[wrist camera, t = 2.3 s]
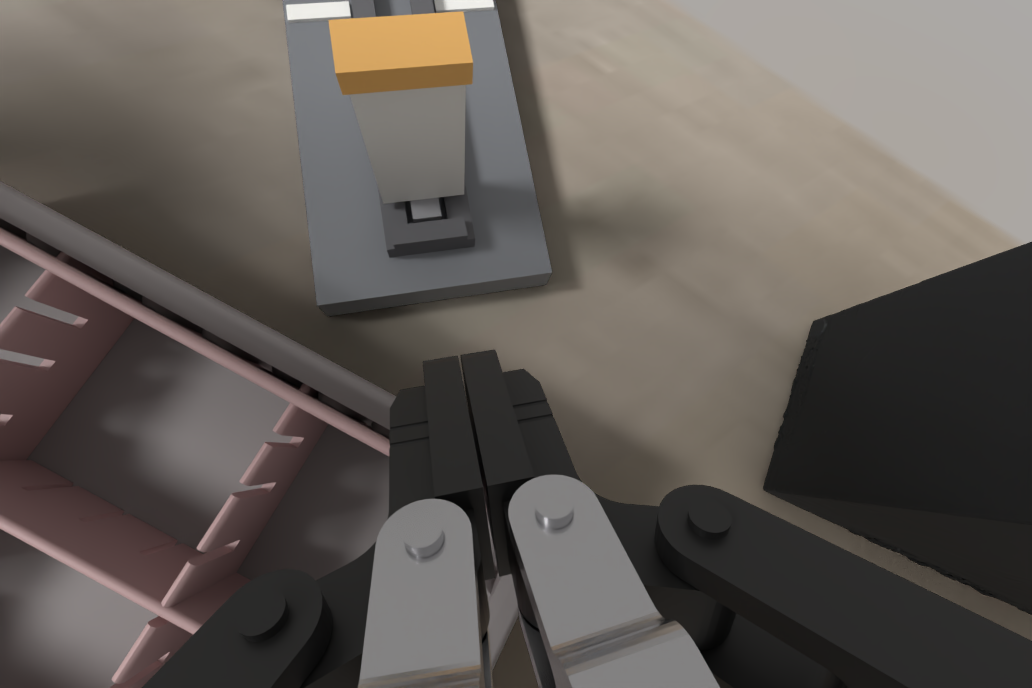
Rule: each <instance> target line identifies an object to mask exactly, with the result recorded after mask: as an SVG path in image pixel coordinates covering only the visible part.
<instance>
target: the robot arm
mask: <svg viewBox="0 0 1032 688" xmlns="http://www.w3.org/2000/svg"><path fill="white" fill-rule="evenodd" d="M461 363H462V370H463V377H464V384H465V391H466V396H465V391H464V386H463V381H462V375H461V370H460V365H459V360H458V356H452V357H446V358H440V359H434V360H428V361H423V371H424V382H425V386H420V387H414V388H408V389H402V390H400V392H399V393H398V395H397V397H396V398H395V400H394V402H393V404H392V405H391V407H390V440H389V444H390V448H389V514H388V519H387V521H386V522H385V523H384V525H383V527H382V528H381V530H380V532H379V534H378V537H377V541H376V542H375V543H374V544H373V545H372V546H371V547H370V548H369V549H368V550H367V551H366V552H365V553H364V554H362V555H361V556H360V557H358V558H357V559H355V560H354V561H352V562H350V563H348V564H347V565H345V566H343V567H341V568H339V569H337V570H335V571H333V572H331V573H329V574H327V575H325V576H323V577H321V578H319V579H318V580H316V581H315V580H314V578H313V577H311V576H310V575H309V574H307V573H305V572H302V571H300V570H294V569H282V570H276V571H272V572H269V573H266V574H263V575H261V576H259V577H257V578H255V579H253V580H251V581H250V582H248V583H246V584H245V585H244V586H242V587H241V588H240V589H238V590H237V591H236V592H235V593H234V594H233V595H232V596H231V597H229V598H228V600H227V601H226V602H225V603H224V604H223V605H222V606H221V607H220V608H219V609H218V610H217V611H216V612H215V613H214V614H213V615H212V616H211V617H210V618H209V619H208V620H207V621H206V622H205V623H204V624H203V625H202V626H201V627H200V628H199V629H198V630H197V631H196V632H195V633H194V634H193V635H192V636H191V637H190V639H189V640H188V641H187V642H186V643H185V644H184V645H183V646H182V647H181V648H180V649H179V650H178V651H177V652H176V653H175V654H174V655H173V656H172V657H171V658H170V659H169V660H168V661H167V662H166V663H165V664H164V665H163V666H162V667H161V668H160V669H159V670H158V671H157V672H156V673H155V674H154V675H153V676H152V677H151V679H150V680H149V681H148V682H147V683H146V684H145V685H144V686H143V687H142V688H493V677H492V665H491V652H490V640H489V629H488V625H489V619H490V610H489V603H488V597H487V590H486V584H485V580H489V579H493V578H496V577H495V570H494V563H493V556H492V548H491V541H490V534H489V527H488V520H489V525H490V531H491V536H492V541H493V546H494V552H495V557H496V562H497V567H498V573H499V577H501V576H505V575H510V574H512V579H513V583H514V588H515V593H516V597H517V605H518V615H519V620H520V624H521V628H522V631H523V635H524V638H525V642H526V645H527V648H528V652H529V655H530V659H531V662H532V666H533V669H534V673H535V676H536V679H537V683H538V686H539V688H1032V641H1031V640H1029V639H1027V638H1025V637H1023V636H1021V635H1019V634H1017V633H1014V632H1012V631H1010V630H1008V629H1006V628H1004V627H1002V626H1000V625H998V624H996V623H994V622H992V621H990V620H988V619H986V618H984V617H982V616H980V615H978V614H975V613H973V612H971V611H969V610H967V609H965V608H963V607H961V606H959V605H957V604H955V603H953V602H951V601H949V600H947V599H945V598H943V597H941V596H939V595H937V594H934V593H932V592H930V591H928V590H926V589H924V588H922V587H920V586H918V585H916V584H914V583H912V582H910V581H908V580H906V579H904V578H902V577H900V576H898V575H895V574H893V573H891V572H889V571H887V570H885V569H883V568H881V567H879V566H877V565H875V564H873V563H871V562H869V561H867V560H865V559H863V558H861V557H859V556H857V555H854V554H852V553H850V552H848V551H846V550H844V549H842V548H840V547H838V546H836V545H834V544H832V543H830V542H828V541H826V540H824V539H822V538H820V537H818V536H815V535H813V534H811V533H809V532H807V531H805V530H803V529H801V528H799V527H797V526H795V525H793V524H791V523H789V522H787V521H785V520H783V519H781V518H779V517H777V516H774V515H772V514H770V513H768V512H766V511H764V510H762V509H760V508H758V507H756V506H754V505H752V504H750V503H748V502H746V501H744V500H742V499H740V498H738V497H735V496H733V495H731V494H729V493H727V492H725V491H723V490H720V489H717V488H714V487H710V486H704V485H688V486H683V487H679V488H677V489H675V490H673V491H671V492H670V493H669V494H667V495H666V496H665V498H664V499H663V500H662V502H661V504H660V506H646V505H634V504H624V503H618V502H614V501H610V500H608V499H605V498H603V497H601V496H599V495H597V494H595V493H594V492H593V491H592V490H591V489H590V488H589V487H588V486H586V485H585V484H584V483H582V481H581V480H580V479H579V477H578V475H577V473H576V471H575V469H574V466H573V464H572V461H571V459H570V456H569V454H568V451H567V449H566V446H565V444H564V441H563V439H562V436H561V434H560V431H559V429H558V427H557V424H556V422H555V419H554V418H553V415H552V412H551V409H550V407H549V404H548V403H547V399H546V397H545V394H544V392H543V389H542V387H541V385H540V382H539V381H538V380H536V379H535V378H534V377H533V376H532V375H530V374H529V373H528V372H527V371H526V370H524V369H520V370H514V371H508V372H502V370H501V367H500V363H499V360H498V357H497V354H496V351H495V350H489V351H482V352H476V353H470V354H464V355H461ZM466 398H467V401H466ZM467 405H468V407H467ZM485 504H486V505H485ZM486 510H487V512H486ZM487 515H488V520H487Z"/></svg>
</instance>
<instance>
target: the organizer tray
mask: <svg viewBox="0 0 1032 688" xmlns="http://www.w3.org/2000/svg"><path fill="white" fill-rule="evenodd" d="M396 397H397V396H395V395H393V394H391V393H389V392H388V391H386V390H384V389H382V388H380V387H378V386H376V385H375V384H373V383H371V382H369V381H367V380H365V379H364V378H362V377H360V376H358V375H356V374H354V373H353V372H351V371H349V370H347V369H345V368H343V367H342V366H340V365H338V364H336V363H334V362H332V361H330V360H329V359H327V358H325V357H323V356H321V355H319V354H318V353H316V352H314V351H312V350H310V349H308V348H307V347H305V346H303V345H301V344H299V343H297V342H296V341H294V340H292V339H290V338H288V337H286V336H285V335H283V334H281V333H279V332H277V331H275V330H273V329H272V328H270V327H268V326H266V325H264V324H262V323H261V322H259V321H257V320H255V319H253V318H251V317H250V316H248V315H246V314H244V313H242V312H240V311H239V310H237V309H235V308H233V307H231V306H229V305H228V304H226V303H224V302H222V301H220V300H218V299H216V298H215V297H213V296H211V295H209V294H207V293H205V292H204V291H202V290H200V289H198V288H196V287H194V286H193V285H191V284H189V283H187V282H185V281H183V280H182V279H180V278H178V277H176V276H174V275H172V274H171V273H169V272H167V271H165V270H163V269H161V268H159V267H158V266H156V265H154V264H152V263H150V262H148V261H147V260H145V259H143V258H141V257H139V256H137V255H136V254H134V253H132V252H130V251H128V250H126V249H125V248H123V247H121V246H119V245H117V244H115V243H114V242H112V241H110V240H108V239H106V238H104V237H102V236H101V235H99V234H97V233H95V232H93V231H91V230H90V229H88V228H86V227H84V226H82V225H80V224H79V223H77V222H75V221H73V220H71V219H69V218H68V217H66V216H64V215H62V214H60V213H58V212H56V211H55V210H53V209H51V208H49V207H47V206H45V205H44V204H42V203H40V202H38V201H36V200H34V199H33V198H31V197H29V196H27V195H25V194H23V193H22V192H20V191H18V190H16V189H14V188H12V187H11V186H9V185H7V184H5V183H3V182H1V181H0V688H142V687H143V686H144V685H145V684H146V683H147V682H148V681H149V680H150V679H151V677H152V676H153V675H154V674H155V673H156V672H157V671H158V670H159V669H160V668H161V667H162V666H163V665H164V664H165V663H166V662H167V661H168V660H169V659H170V658H171V657H172V656H173V655H174V654H175V653H176V652H177V651H178V650H179V649H180V648H181V647H182V646H183V645H184V644H185V643H186V642H187V641H188V640H189V639H190V637H191V636H192V635H193V634H194V633H195V632H196V631H197V630H198V629H199V628H200V627H201V626H202V625H203V624H204V623H205V622H206V621H207V620H208V619H209V618H210V617H211V616H212V615H213V614H214V613H215V612H216V611H217V610H218V609H219V608H220V607H221V606H222V605H223V604H224V603H225V602H226V601H227V600H228V598H229V597H231V596H232V595H233V594H234V593H235V592H236V591H237V590H238V589H240V588H241V587H242V586H244V585H245V584H246V583H248V582H250V581H251V580H253V579H255V578H257V577H259V576H261V575H263V574H266V573H269V572H272V571H276V570H282V569H294V570H300V571H302V572H305V573H307V574H309V575H310V576H311V577H313V578H314V580H315V581H316V580H318V579H319V578H321V577H323V576H325V575H327V574H329V573H331V572H333V571H335V570H337V569H339V568H341V567H343V566H345V565H347V564H348V563H350V562H352V561H354V560H355V559H357V558H358V557H360V556H361V555H362V554H364V553H365V552H366V551H367V550H368V549H369V548H370V547H371V546H372V545H373V544H374V543H375V542H376V541H377V537H378V534H379V532H380V530H381V528H382V527H383V525H384V523H385V522H386V521H387V519H388V514H389V448H390V444H389V440H390V407H391V405H392V404H393V402H394V400H395V398H396ZM485 505H486V504H485ZM486 512H487V510H486ZM487 520H488V515H487ZM488 527H489V534H490V541H491V548H492V556H493V563H494V570H495V577H496V578H493V579H489V580H485V584H486V590H487V597H488V603H489V610H490V619H489V625H488V629H489V640H490V652H491V665H492V671H493V668H494V666H495V664H496V662H497V660H498V658H499V656H500V654H501V651H502V649H503V647H504V645H505V643H506V641H507V639H508V637H509V635H510V632H511V630H512V628H513V626H514V624H515V622H516V620H517V618H518V605H517V597H516V593H515V588H514V583H513V579H512V574H510V575H505V576H501V577H499V573H498V567H497V562H496V557H495V552H494V546H493V541H492V536H491V531H490V525H489V520H488Z"/></svg>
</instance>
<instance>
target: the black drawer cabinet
mask: <svg viewBox="0 0 1032 688" xmlns="http://www.w3.org/2000/svg"><path fill="white" fill-rule="evenodd" d="M806 342H807V343H806V347H805V349H804V352H803V356H801V358H802V359H801V363H800V364H799V368H798V369H797V374H796V377H795V379H794V382H793V386H792V390H791V395H790V399H789V403H788V406H787V409H786V411H785V413H784V415H783V417H784V420H783V424H782V425H781V427H780V430H779V432H778V433H779V435H778V438H777V440H776V442H775V445H774V453H773V456H772V459H771V462H770V466H769V469H768V473H767V476H766V479H765V483H764V486H763V489H764V490H765V491H766V492H768V493H770V494H772V495H774V496H776V497H778V498H781V499H783V500H785V501H787V502H789V503H791V504H794V505H796V506H798V507H800V508H802V509H804V510H806V511H809V512H811V513H813V514H815V515H817V516H819V517H822V518H824V519H826V520H828V521H831V522H833V523H835V524H837V525H840V526H842V527H844V528H846V529H849V531H850V532H852V533H853V534H857V535H859V536H863V537H865V538H866V539H867V540H869V541H871V542H873V543H876V544H878V545H880V546H881V547H885V548H887V549H891V550H892V551H894V552H898V553H900V554H902V555H904V556H906V557H907V558H908V559H910V560H912V561H914V562H916V563H918V564H919V565H923V566H926V567H931V568H933V569H934V570H936V571H938V572H939V573H940V574H942V575H944V576H946V577H949V578H951V579H953V580H957V581H959V582H960V583H962V584H965V585H969V586H971V587H973V588H974V589H975V590H977V591H979V592H980V593H982V594H984V595H987V596H991V597H994V598H997V599H999V600H1002V601H1004V602H1007V603H1009V604H1011V605H1013V606H1015V607H1017V608H1018V609H1019V610H1022V611H1025V612H1027V613H1029V614H1032V242H1030V243H1027V244H1024V245H1022V246H1019V247H1016V248H1013V249H1010V250H1008V251H1005V252H1002V253H999V254H996V255H994V256H991V257H988V258H985V259H983V260H980V261H977V262H974V263H971V264H969V265H966V266H963V267H960V268H958V269H955V270H952V271H949V272H947V273H944V274H941V275H938V276H936V277H933V278H930V279H927V280H924V281H922V282H920V283H918V284H915V285H912V286H909V287H906V288H904V289H901V290H898V291H895V292H892V293H890V294H887V295H884V296H881V297H878V298H876V299H873V300H870V301H868V302H865V303H862V304H859V305H856V306H853V307H851V308H848V309H846V310H842V311H841V312H838V313H836V314H833V315H829V316H826V317H824V318H821V319H818V320H815V321H813V323H812V326H811V329H810V333H809V336H808V340H806Z"/></svg>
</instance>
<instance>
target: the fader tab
mask: <svg viewBox="0 0 1032 688" xmlns="http://www.w3.org/2000/svg"><path fill="white" fill-rule="evenodd" d="M328 21H329V29H330V36H331V44H332V51H333V59H334V66H335V74H336V77H337V80H338V83H339V86H340V89H341V92H342V95H350V97H351V101H352V104H353V107H354V110H355V114H356V117H357V120H358V123H359V127H360V130H361V133H362V136H363V139H364V143H365V146H366V149H367V152H368V156H369V159H370V162H371V165H372V168H373V172H374V175H375V178H376V181H377V185H378V188H379V191H380V194H381V197H382V201H383V204H386V203H395V202H404V201H410V203H411V210H412V216H413V222H414V223H418V222H426V221H434V220H442V216H441V210H440V204H439V198H438V197H447V196H456V195H464V175H465V102H466V85H469V84H472V83H473V59H472V54H471V49H470V44H469V38H468V33H467V28H466V23H465V18H464V13H463V11H461V12H445V13H430V14H414V15H398V16H382V17H367V18H351V19H335V20H328Z"/></svg>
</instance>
